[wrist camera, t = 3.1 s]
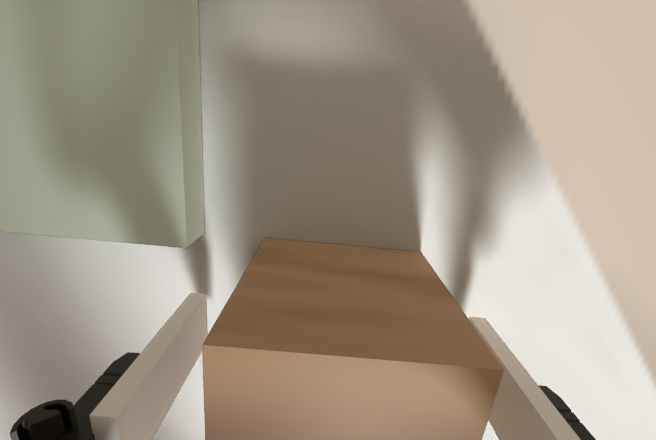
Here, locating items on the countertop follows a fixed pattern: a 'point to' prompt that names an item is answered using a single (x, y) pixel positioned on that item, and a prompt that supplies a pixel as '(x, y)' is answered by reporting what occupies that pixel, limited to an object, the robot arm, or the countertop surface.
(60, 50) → the base plate
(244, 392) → the walnut cube
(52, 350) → the countertop surface
